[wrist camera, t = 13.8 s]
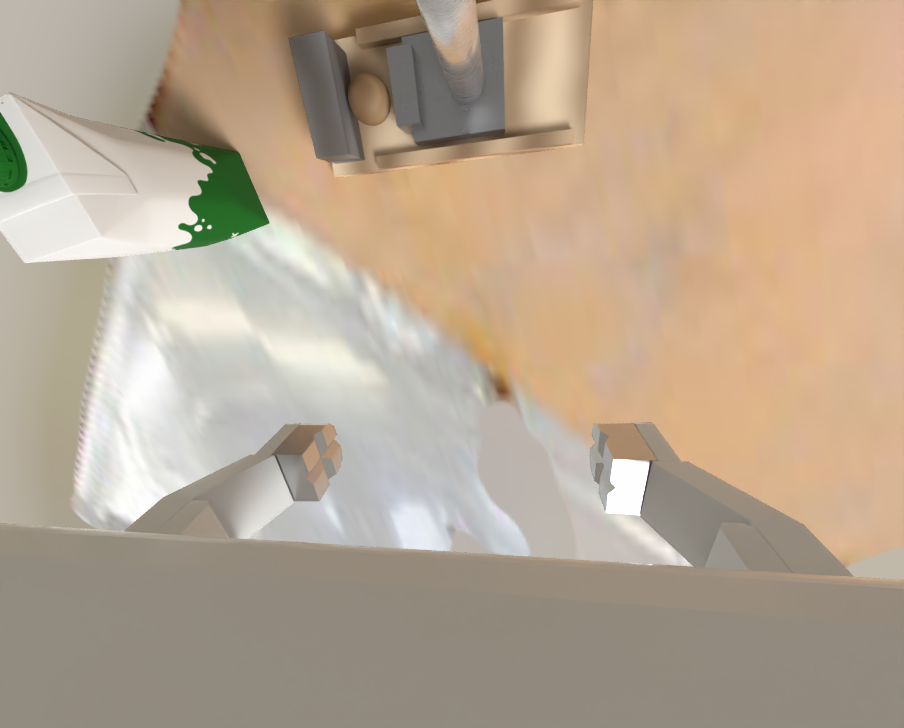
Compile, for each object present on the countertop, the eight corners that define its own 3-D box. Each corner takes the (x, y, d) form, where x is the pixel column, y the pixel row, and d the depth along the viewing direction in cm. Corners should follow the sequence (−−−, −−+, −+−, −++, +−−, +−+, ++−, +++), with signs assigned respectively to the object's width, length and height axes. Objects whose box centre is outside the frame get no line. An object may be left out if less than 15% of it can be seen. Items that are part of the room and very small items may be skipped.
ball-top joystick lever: (502, 28, 26) (512, -418, 7) (504, 133, 29) (516, -4, 10) (395, 49, 27) (183, -284, 9) (408, 147, 30) (268, 48, 12)
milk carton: (242, 140, 33) (-52, 58, 16) (280, 231, 37) (77, 250, 19) (176, 164, 35) (-152, 117, 17) (219, 249, 39) (-18, 281, 21)
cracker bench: (589, -2, 26) (610, -52, 21) (580, 145, 30) (596, 133, 25) (315, 53, 30) (278, 21, 25) (341, 177, 34) (314, 171, 29)
